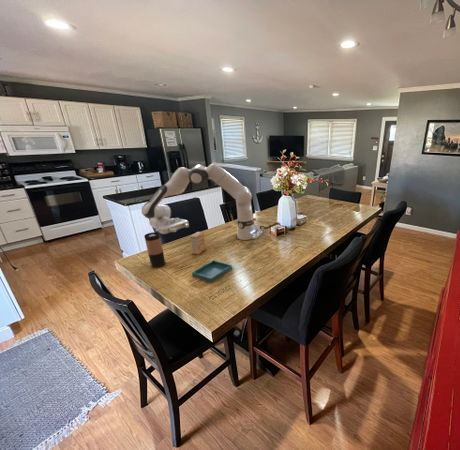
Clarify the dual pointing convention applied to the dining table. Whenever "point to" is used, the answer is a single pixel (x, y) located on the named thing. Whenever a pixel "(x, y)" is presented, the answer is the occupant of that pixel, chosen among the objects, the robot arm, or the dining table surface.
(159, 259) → the travel mug
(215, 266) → the tray
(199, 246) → the supplement box
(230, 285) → the dining table surface
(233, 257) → the dining table surface
